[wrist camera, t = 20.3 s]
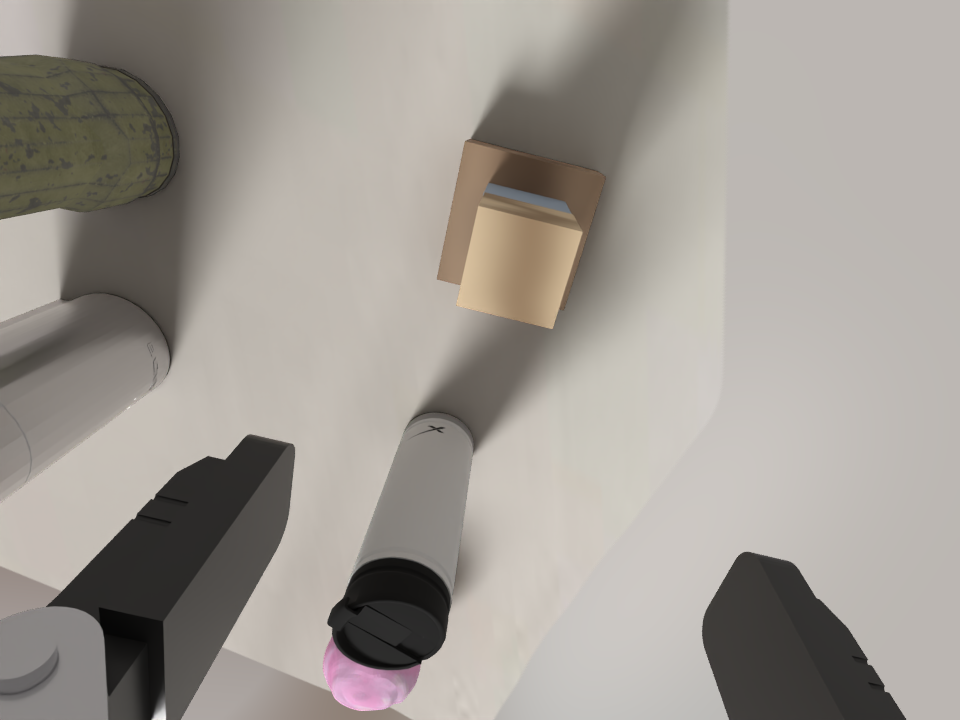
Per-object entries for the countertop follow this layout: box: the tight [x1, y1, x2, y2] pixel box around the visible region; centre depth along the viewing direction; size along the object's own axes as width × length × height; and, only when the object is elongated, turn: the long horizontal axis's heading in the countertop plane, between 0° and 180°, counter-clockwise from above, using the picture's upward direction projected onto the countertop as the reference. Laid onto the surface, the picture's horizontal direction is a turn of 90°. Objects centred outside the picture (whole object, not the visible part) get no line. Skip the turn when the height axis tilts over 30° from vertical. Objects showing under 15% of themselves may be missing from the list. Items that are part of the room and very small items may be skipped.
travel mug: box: [327, 412, 474, 670], centre depth 38 cm, size 6×7×20 cm
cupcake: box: [323, 636, 421, 711], centre depth 51 cm, size 9×9×10 cm
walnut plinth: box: [437, 139, 606, 310], centre depth 37 cm, size 9×9×4 cm
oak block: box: [456, 192, 583, 329], centre depth 28 cm, size 5×5×5 cm
